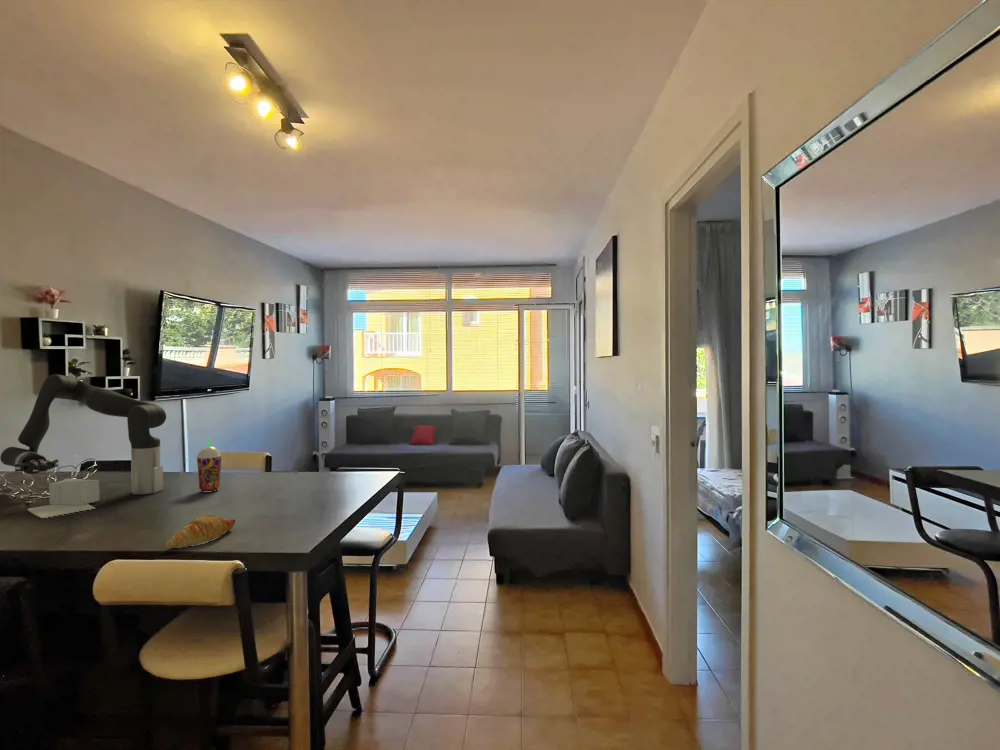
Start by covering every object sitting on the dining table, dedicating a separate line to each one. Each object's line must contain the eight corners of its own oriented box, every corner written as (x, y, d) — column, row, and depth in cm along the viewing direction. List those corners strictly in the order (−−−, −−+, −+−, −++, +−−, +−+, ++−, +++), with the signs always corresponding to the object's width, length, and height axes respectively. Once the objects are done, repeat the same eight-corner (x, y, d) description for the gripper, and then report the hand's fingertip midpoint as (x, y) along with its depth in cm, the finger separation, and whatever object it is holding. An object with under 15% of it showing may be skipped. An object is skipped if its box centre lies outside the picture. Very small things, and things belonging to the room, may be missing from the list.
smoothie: (214, 493, 201) (214, 440, 201) (192, 493, 201) (191, 440, 201) (226, 488, 210) (225, 437, 209) (205, 488, 210) (204, 437, 209)
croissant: (174, 566, 140) (183, 542, 138) (150, 544, 143) (159, 520, 141) (240, 539, 159) (249, 518, 158) (217, 520, 162) (226, 499, 161)
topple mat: (27, 510, 178) (27, 508, 178) (79, 501, 189) (79, 500, 189) (41, 519, 168) (41, 517, 168) (95, 509, 180) (95, 507, 180)
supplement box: (69, 498, 191) (100, 500, 189) (48, 504, 183) (80, 506, 181) (69, 478, 190) (100, 479, 188) (48, 482, 183) (80, 484, 181)
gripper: (6, 454, 194) (19, 460, 184) (52, 450, 205) (67, 455, 195) (7, 475, 195) (19, 482, 184) (53, 469, 205) (67, 475, 195)
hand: (44, 468), depth 190 cm, fingers closed
